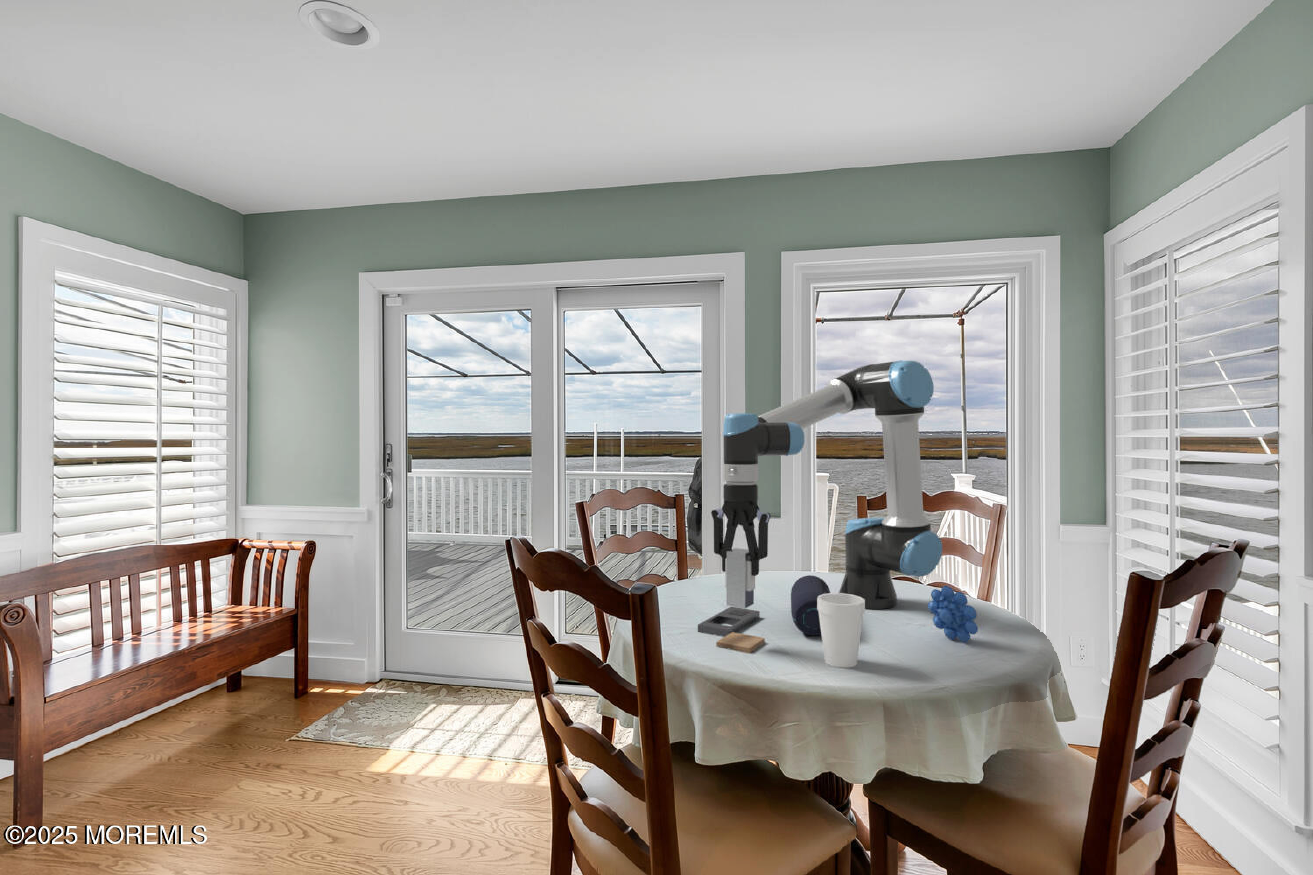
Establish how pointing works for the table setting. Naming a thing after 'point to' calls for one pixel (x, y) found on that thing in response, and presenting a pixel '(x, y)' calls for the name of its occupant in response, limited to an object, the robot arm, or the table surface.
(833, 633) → the foam cup
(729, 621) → the dark grey slotted board
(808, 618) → the portable speaker
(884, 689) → the table surface
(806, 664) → the table surface
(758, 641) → the pad
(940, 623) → the grapes
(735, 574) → the tall grey prism
